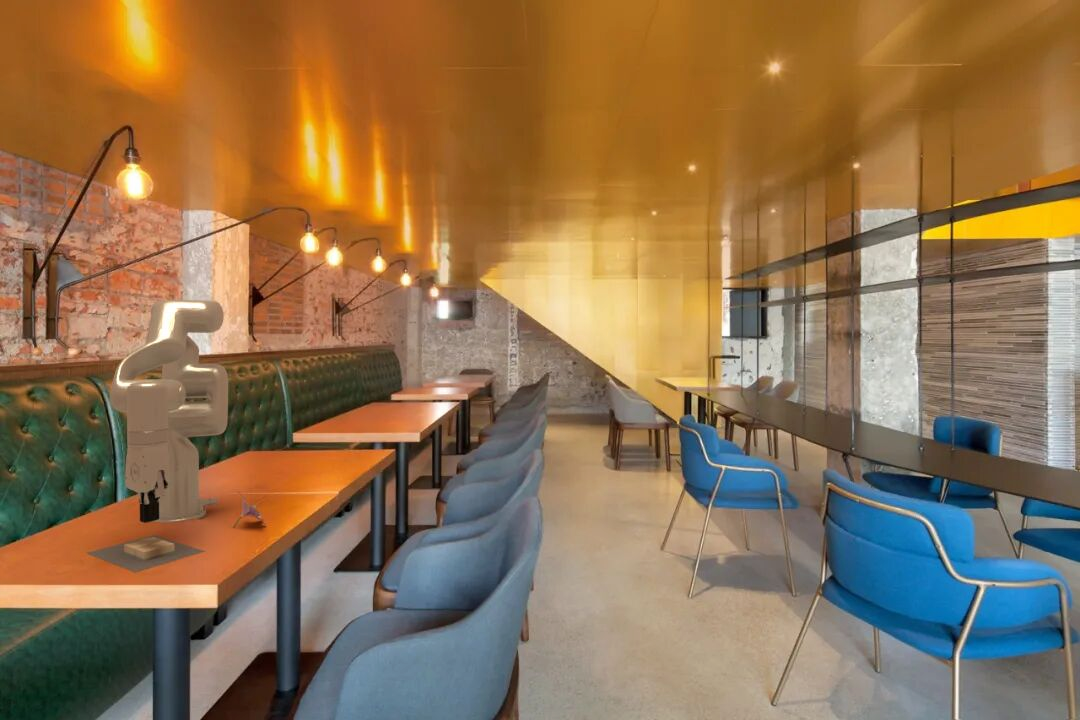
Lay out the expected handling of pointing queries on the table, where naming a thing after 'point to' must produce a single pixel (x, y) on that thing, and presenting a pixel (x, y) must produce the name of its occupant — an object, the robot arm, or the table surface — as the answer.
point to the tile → (149, 549)
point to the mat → (133, 564)
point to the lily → (249, 511)
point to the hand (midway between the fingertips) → (149, 520)
